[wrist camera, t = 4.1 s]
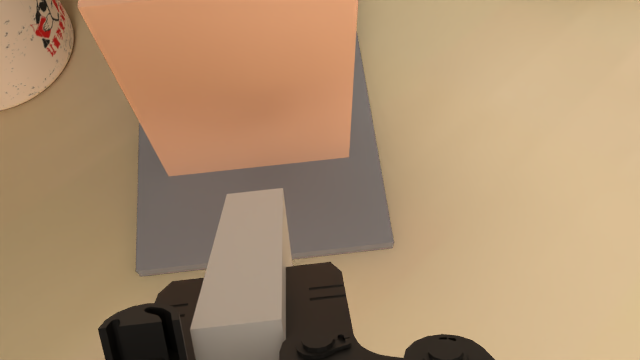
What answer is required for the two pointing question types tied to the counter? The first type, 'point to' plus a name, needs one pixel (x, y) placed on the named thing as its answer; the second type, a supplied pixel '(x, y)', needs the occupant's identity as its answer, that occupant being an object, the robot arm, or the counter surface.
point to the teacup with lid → (31, 48)
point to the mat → (295, 178)
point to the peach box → (233, 77)
